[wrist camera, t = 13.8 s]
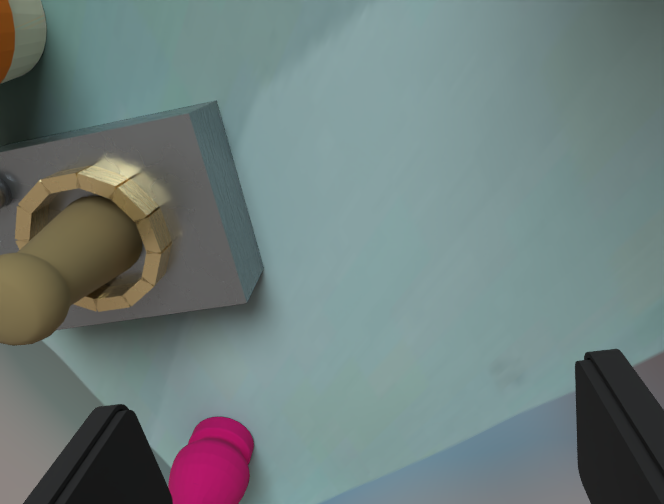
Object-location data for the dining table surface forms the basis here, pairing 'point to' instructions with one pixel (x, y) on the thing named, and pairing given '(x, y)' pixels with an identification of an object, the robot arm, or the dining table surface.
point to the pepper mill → (213, 464)
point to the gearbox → (143, 209)
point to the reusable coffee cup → (20, 37)
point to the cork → (64, 267)
